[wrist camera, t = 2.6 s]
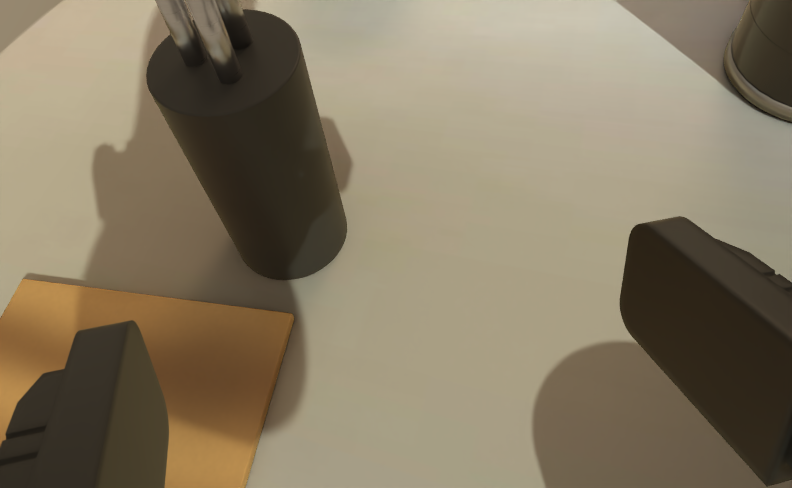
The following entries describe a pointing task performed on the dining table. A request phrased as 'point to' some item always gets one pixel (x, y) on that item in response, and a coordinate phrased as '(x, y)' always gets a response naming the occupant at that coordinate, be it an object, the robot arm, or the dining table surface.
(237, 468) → the wooden board
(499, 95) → the dining table surface
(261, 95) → the cutlery holder
